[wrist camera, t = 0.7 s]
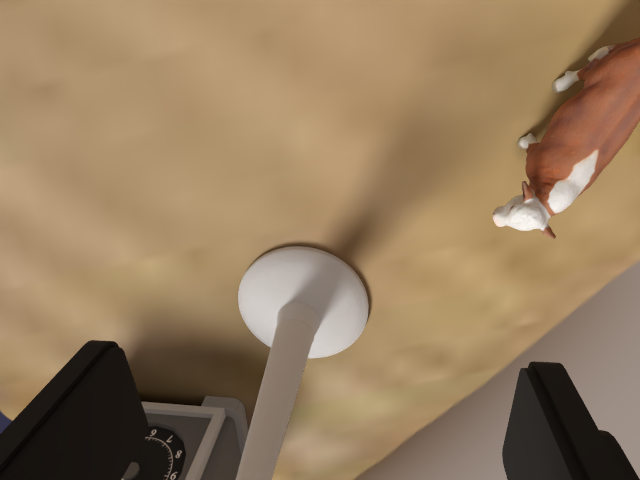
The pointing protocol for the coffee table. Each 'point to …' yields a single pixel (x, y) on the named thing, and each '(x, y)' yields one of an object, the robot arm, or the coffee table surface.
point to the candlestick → (294, 335)
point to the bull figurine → (578, 137)
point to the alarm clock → (191, 441)
